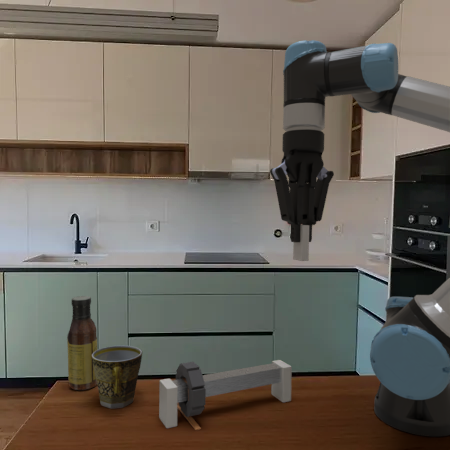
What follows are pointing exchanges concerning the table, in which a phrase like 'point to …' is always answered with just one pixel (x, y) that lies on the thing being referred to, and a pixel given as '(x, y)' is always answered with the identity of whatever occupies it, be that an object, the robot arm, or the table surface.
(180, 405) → the ring
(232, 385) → the light grey bar
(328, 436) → the table surface
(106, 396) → the ceramic cup
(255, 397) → the table surface
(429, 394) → the robot arm
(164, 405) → the stand
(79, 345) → the sauce bottle
